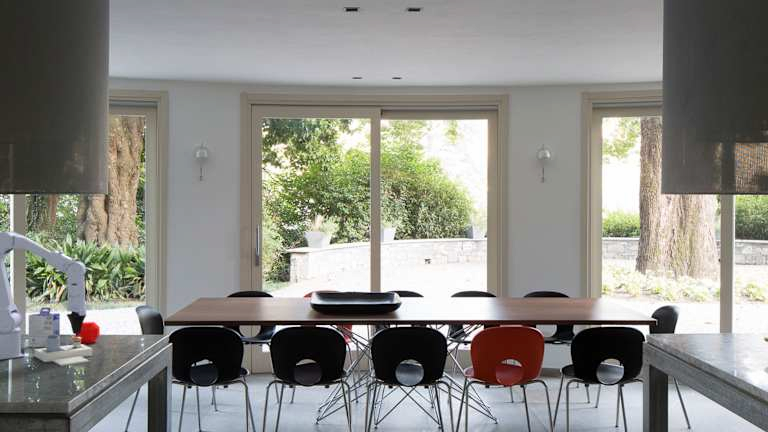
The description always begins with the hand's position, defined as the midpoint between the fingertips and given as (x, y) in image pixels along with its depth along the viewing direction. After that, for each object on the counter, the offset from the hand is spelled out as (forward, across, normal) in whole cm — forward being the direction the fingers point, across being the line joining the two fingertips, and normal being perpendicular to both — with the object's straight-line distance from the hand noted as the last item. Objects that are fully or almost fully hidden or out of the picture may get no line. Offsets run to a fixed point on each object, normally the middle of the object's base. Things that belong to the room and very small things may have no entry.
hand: (76, 333), depth 259 cm
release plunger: (+6, 0, 0) cm, 6 cm away
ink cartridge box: (+8, +24, +4) cm, 26 cm away
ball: (+8, +21, -10) cm, 25 cm away
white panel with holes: (+8, 0, +4) cm, 9 cm away
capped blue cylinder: (+8, 0, +8) cm, 11 cm away
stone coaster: (+8, -12, +6) cm, 15 cm away
